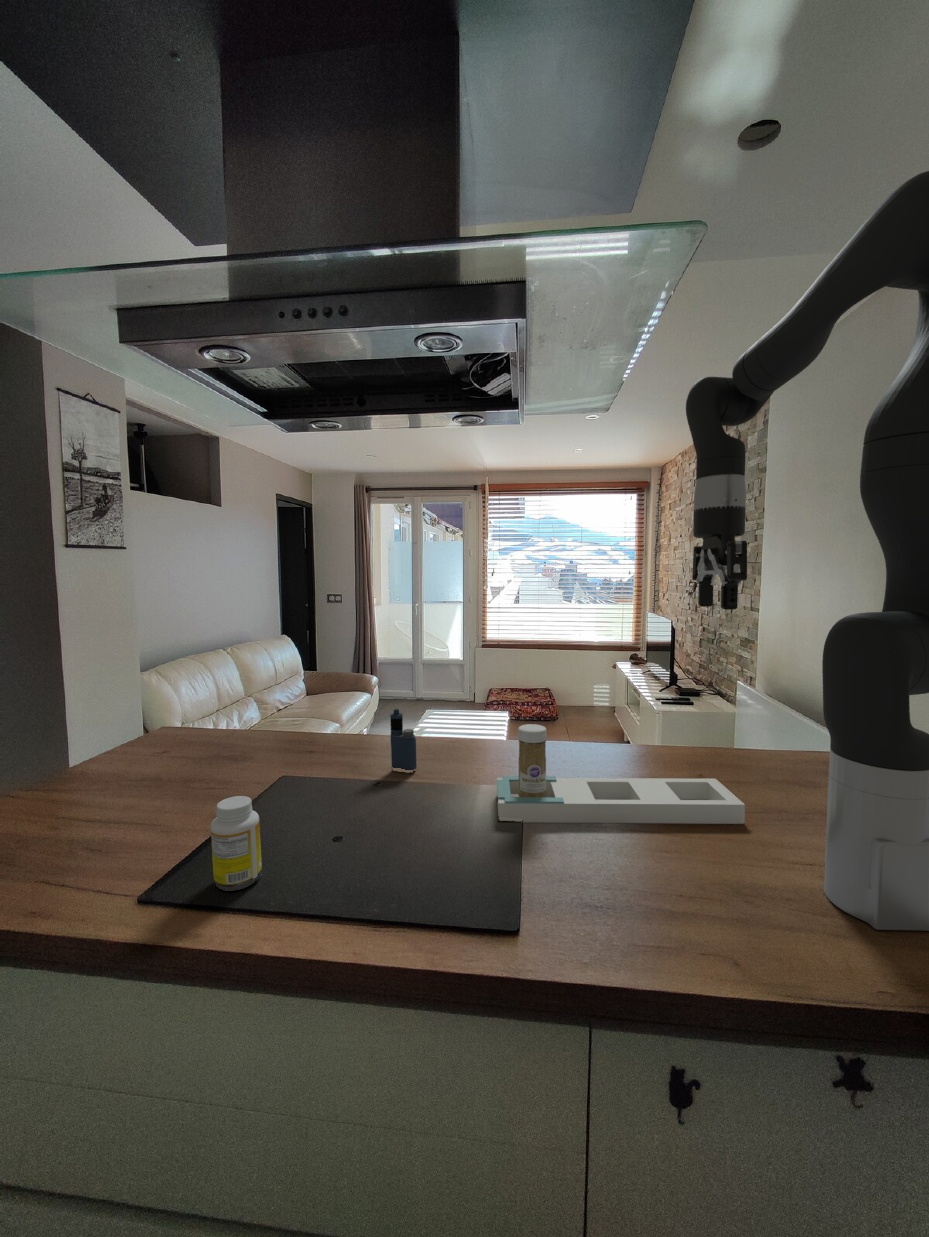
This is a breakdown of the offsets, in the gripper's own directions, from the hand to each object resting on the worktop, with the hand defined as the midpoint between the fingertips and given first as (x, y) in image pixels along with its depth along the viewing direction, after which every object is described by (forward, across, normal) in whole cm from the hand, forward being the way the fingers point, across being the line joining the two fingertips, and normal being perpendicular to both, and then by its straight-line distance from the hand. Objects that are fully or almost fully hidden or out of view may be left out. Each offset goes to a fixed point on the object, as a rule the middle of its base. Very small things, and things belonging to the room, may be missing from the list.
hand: (716, 607), depth 84 cm
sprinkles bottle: (+32, -4, +30) cm, 45 cm away
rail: (+32, -4, +18) cm, 37 cm away
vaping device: (+32, +12, +54) cm, 64 cm away
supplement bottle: (+32, -25, +69) cm, 80 cm away
